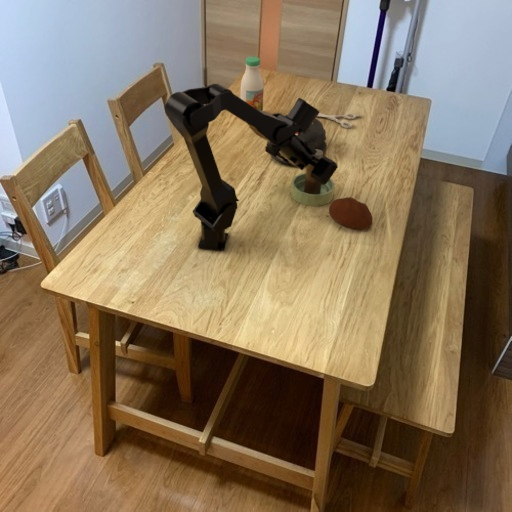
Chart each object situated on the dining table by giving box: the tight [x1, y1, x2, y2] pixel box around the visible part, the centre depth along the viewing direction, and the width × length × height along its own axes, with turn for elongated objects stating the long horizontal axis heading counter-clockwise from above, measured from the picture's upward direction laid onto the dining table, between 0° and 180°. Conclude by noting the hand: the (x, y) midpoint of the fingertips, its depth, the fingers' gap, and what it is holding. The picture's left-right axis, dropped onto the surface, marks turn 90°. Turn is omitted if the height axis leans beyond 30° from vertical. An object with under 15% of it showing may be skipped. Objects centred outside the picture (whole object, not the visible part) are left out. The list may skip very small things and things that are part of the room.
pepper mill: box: [304, 149, 324, 194], centre depth 142 cm, size 5×5×13 cm
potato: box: [328, 196, 374, 230], centre depth 134 cm, size 8×12×8 cm, turn 74°
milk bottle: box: [239, 56, 265, 111], centre depth 176 cm, size 8×8×20 cm
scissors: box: [317, 112, 362, 129], centre depth 183 cm, size 11×1×20 cm
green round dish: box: [290, 172, 335, 207], centre depth 145 cm, size 12×12×4 cm
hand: (318, 171), depth 142 cm, fingers open, 7 cm apart
